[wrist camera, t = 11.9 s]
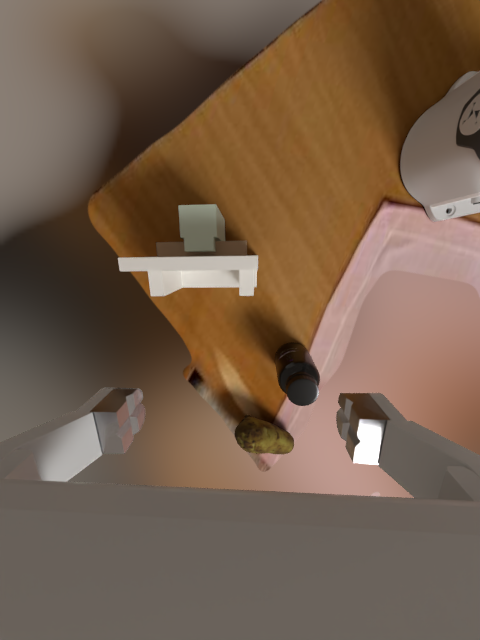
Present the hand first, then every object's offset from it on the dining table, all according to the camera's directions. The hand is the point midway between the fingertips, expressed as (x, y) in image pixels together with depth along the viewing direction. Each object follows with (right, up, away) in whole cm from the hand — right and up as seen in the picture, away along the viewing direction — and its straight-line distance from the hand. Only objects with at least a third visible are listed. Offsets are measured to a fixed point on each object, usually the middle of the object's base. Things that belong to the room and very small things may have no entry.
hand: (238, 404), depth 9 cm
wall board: (-5, +13, +32) cm, 35 cm away
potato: (+5, -20, +41) cm, 46 cm away
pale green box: (-5, +18, +30) cm, 35 cm away
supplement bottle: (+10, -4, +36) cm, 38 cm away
